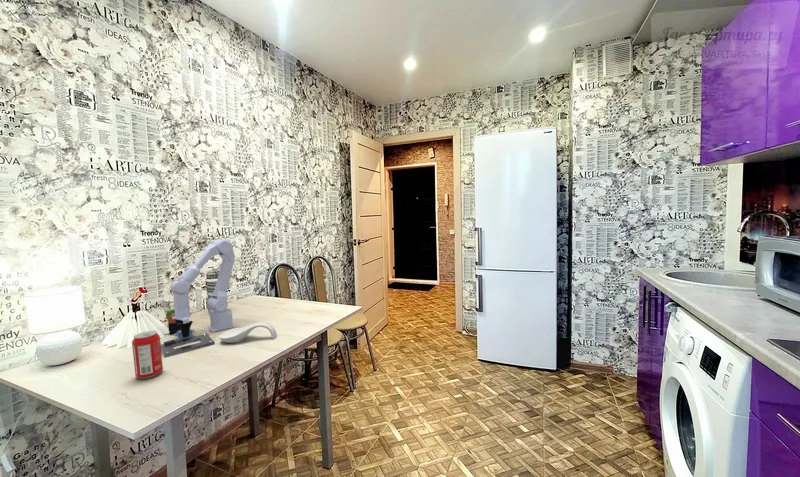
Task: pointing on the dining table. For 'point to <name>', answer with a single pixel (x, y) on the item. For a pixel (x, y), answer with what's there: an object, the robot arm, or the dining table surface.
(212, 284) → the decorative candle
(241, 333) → the spoon rest
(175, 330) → the battery
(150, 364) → the soda can
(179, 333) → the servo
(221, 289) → the robot arm
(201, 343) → the plate
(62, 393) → the dining table surface
